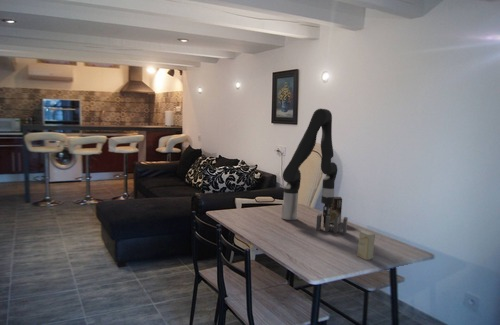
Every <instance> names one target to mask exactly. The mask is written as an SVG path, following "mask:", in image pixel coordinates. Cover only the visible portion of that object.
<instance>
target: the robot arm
mask: <svg viewBox="0 0 500 325" xmlns="http://www.w3.org/2000/svg"><path fill="white" fill-rule="evenodd" d="M332 114H333V113H332V112H331V111H330V110H329V109H326V108H317V109H316V110H315V111H314V112H313V114H312V115H311V118H310V121H309V123H308V125H307V128H306V130H305V132H304V134H303V136H302V138H301V139H300V141H299V143H298V145H297V147H296V149H295V151H294V153H293V155H292V157H291V160H290V161H289V162H288V164H287V165H286V167H285V168H284V170H283V173H282V179H283V181H284V182H285V183H286V185H285V187H283V202H282V204H281V219H283V220H286V221H287V220H288V221H296V220H297V219H298V204H299V190H300V187H301V180H302V178H301V177H302V173H301V170H300V169H299V168H300V167H301V166H302V164H303V163H304V162H305V161H306V160H307V159H308V158H309V157H310V155H311V154H312V152H313V150H314V149H315V146H316V144H317V136H318V133H319V130H320V129H321V138H320V152H321V161H320V170H321V172H322V174H323V175H325V177H324V178H323V179H322V186H321V187H322V189H321V196H320V197H321V200H320V202H321V204H323V209H322V217H323V221H322V222H323V224H324V223H326V216H327V215H330V213H331V204H333V203H334V197H335V183H336V182H335V181H336V178H337V174H338V165H337V164H336V163H335V162H333V161H332V158H334V146H333V139H332V138H333V137H332V136H333V135H332V132H333V131H332V129H333V128H332V127H333V126H332V125H333V124H332V123H333V116H332ZM325 214H326V215H325Z"/></svg>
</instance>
